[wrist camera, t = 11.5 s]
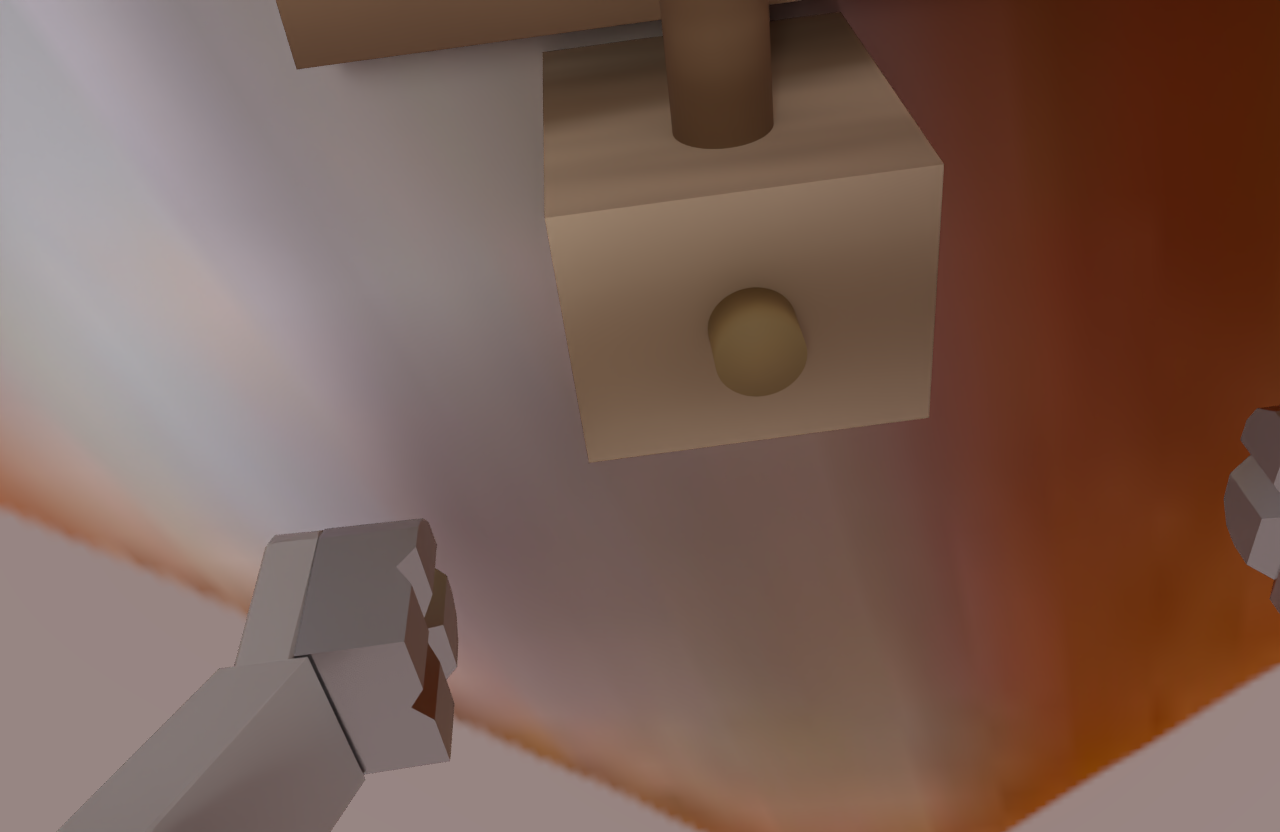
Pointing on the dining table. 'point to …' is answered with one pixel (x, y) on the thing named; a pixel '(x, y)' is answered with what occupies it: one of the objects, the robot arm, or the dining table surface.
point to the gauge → (738, 232)
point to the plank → (439, 24)
